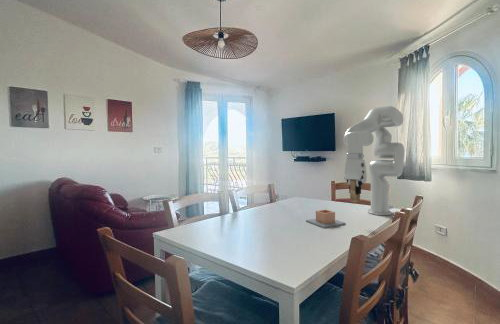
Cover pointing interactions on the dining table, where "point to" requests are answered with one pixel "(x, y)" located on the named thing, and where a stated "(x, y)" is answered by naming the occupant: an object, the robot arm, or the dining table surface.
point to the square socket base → (325, 219)
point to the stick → (353, 192)
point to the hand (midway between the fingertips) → (355, 193)
